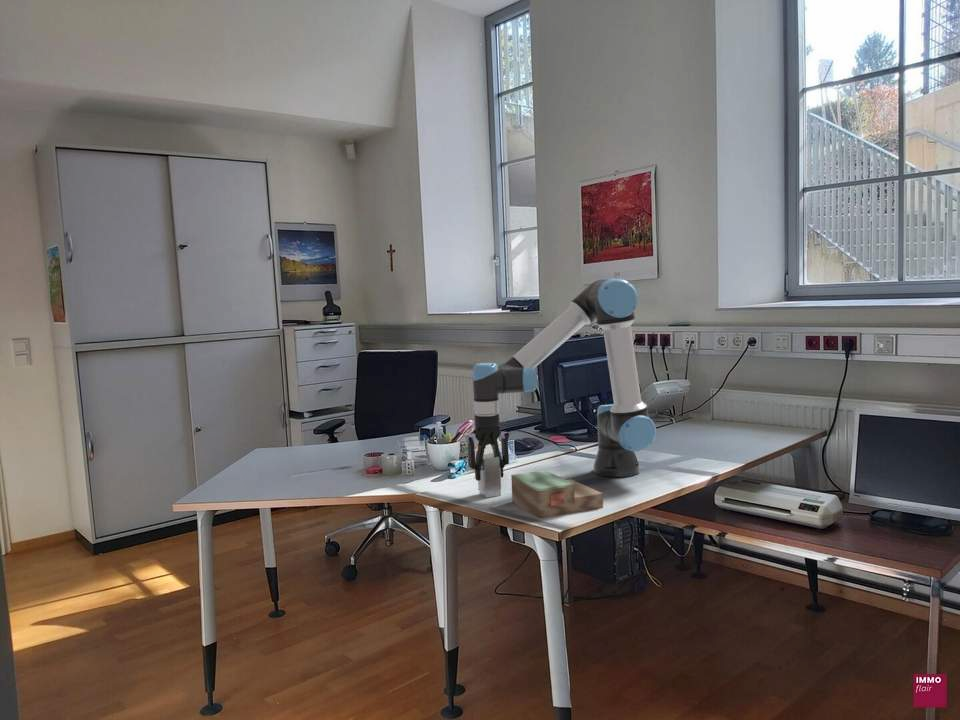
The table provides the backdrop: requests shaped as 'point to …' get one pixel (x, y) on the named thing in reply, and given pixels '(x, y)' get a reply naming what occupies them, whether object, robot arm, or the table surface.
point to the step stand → (552, 494)
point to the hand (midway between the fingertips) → (489, 489)
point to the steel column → (491, 476)
